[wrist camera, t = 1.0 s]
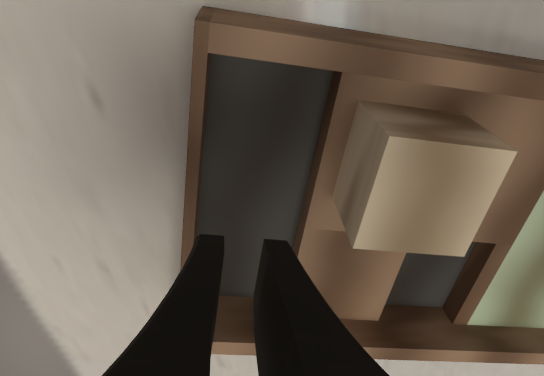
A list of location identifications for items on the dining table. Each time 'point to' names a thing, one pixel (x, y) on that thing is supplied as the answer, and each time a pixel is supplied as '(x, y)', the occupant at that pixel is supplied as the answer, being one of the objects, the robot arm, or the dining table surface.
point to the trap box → (323, 175)
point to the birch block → (417, 179)
